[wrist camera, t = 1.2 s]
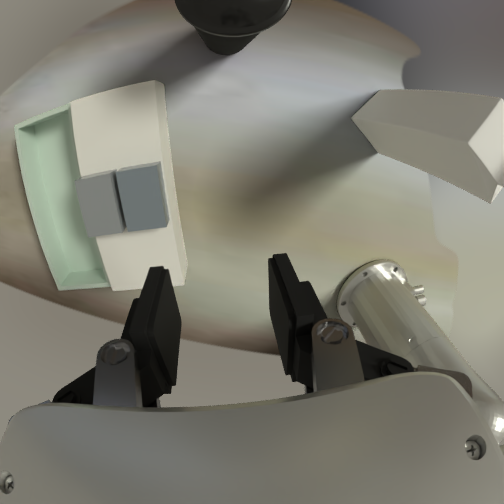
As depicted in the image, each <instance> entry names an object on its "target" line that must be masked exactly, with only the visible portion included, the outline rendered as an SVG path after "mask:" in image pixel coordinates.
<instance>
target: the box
mask: <svg viewBox="0 0 504 504" xmlns="http://www.w3.org/2000/svg"><path fill="white" fill-rule="evenodd" d="M14 129H15V137H16V144H17V151H18V157H19V163H20V168H21V173H22V178H23V182H24V187H25V191H26V195H27V199H28V203H29V207H30V211H31V214H32V218H33V221H34V224H35V228H36V231H37V234H38V237H39V240H40V243H41V246H42V249H43V252H44V255H45V257H46V260H47V263H48V265H49V268H50V270H51V273H52V275H53V278H54V280H55V283H56V285H57V287H58V290H73V289H87V288H100V287H111V284H110V281H109V278H108V276H107V273H106V270H105V267H104V263H103V260H102V257H101V254H100V251H99V247H98V244H97V240H96V237H89V238H88V235H87V231H86V228H85V224H84V220H83V216H82V213H81V209H80V205H79V200H78V196H77V192H76V187H75V182H74V181H75V180H77V179H79V178H80V177H81V174H80V169H79V163H78V158H77V151H76V145H75V138H74V131H73V123H72V114H71V103H69V104H66V105H63V106H61V107H58V108H55V109H52V110H50V111H47V112H45V113H42V114H40V115H37V116H35V117H32V118H30V119H28V120H25V121H23V122H21V123H19V124H16V125H14Z"/></svg>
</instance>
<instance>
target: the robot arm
mask: <svg viewBox="0 0 504 504" xmlns="http://www.w3.org/2000/svg"><path fill="white" fill-rule="evenodd" d="M268 271H269V309H270V316H271V320H272V324H273V328H274V332H275V336H276V340H277V344H278V348H279V352H280V355H281V359H282V363H283V367H284V371H285V374H286V375H291V378H292V382H296V381H298V382H300V383H302V384H304V385H305V394H303V395H297V396H292V397H286V398H279V399H272V400H265V401H257V402H248V403H239V404H228V405H217V406H200V407H171V408H170V407H169V408H161V406H160V400H159V397H160V396H162V395H163V394H171V388H172V386H175V385H176V378H177V366H178V355H179V344H180V334H181V317H180V313H179V309H178V305H177V301H176V297H175V293H174V289H173V285H172V281H171V277H170V272H169V269H164V266H156V267H150V268H149V271H148V274H147V277H146V280H145V283H144V285H143V288H142V291H141V294H140V297H139V298H135V299H134V300H133V302H132V305H131V308H130V311H129V314H128V317H127V320H126V323H125V327H124V330H123V333H122V336H121V339H114V340H111V341H109V342H107V343H105V344H104V345H103V346H102V347H101V348H100V349H99V351H98V354H97V360H96V366H95V367H94V368H92V369H91V370H89V371H88V372H86V373H85V374H83V375H82V376H80V377H79V378H77V379H76V380H74V381H73V382H71V383H69V384H68V385H66V386H65V387H63V388H62V389H61V390H59V391H58V392H57V393H56V395H55V396H54V398H53V401H52V402H50V400H47V401H45V402H43V403H40V404H38V405H34V406H30V407H27V408H24V409H22V410H20V411H19V412H17V413H16V414H15V415H13V416H12V417H11V419H10V420H9V423H8V426H7V428H6V431H5V433H4V435H3V438H2V441H1V443H0V504H504V445H500V446H499V444H500V442H501V441H502V440H503V438H504V402H503V401H502V399H501V398H500V397H499V396H498V395H497V393H496V392H495V391H494V390H493V389H491V387H490V386H489V385H488V384H487V383H486V382H485V381H484V380H483V379H482V378H481V377H480V376H479V375H478V374H477V373H476V372H475V371H474V370H473V368H472V367H471V366H470V365H469V364H468V363H467V361H466V360H465V359H464V357H463V356H462V355H461V354H460V352H459V351H458V350H457V349H456V347H455V346H454V345H453V343H452V342H451V341H450V340H449V338H448V337H447V336H446V335H445V333H444V332H443V331H442V330H441V328H440V327H439V326H438V325H437V323H436V322H435V321H434V320H433V318H432V317H431V316H430V315H429V313H428V312H427V311H426V310H425V309H424V307H423V306H424V305H425V304H426V297H425V296H424V295H419V296H415V297H414V295H415V294H416V295H417V294H421V293H423V292H424V287H423V286H422V285H419V286H415V287H412V286H410V285H409V284H408V281H407V275H406V273H405V271H404V270H403V268H402V267H401V266H400V265H399V264H397V263H396V262H394V261H391V260H376V261H373V262H370V263H368V264H366V265H364V266H362V267H361V268H359V269H358V270H356V271H355V272H354V273H353V274H352V275H351V276H350V277H349V278H348V279H347V280H346V282H345V283H344V285H343V286H342V288H341V290H340V292H339V295H338V299H337V310H338V313H339V315H340V317H341V319H342V320H343V321H342V320H339V319H333V318H329V319H328V318H327V316H326V314H325V312H324V310H323V308H322V306H321V304H320V302H319V300H318V298H317V296H316V293H315V291H314V289H313V287H312V285H311V283H310V282H309V281H304V282H299V280H298V277H297V275H296V273H295V271H294V269H293V266H292V264H291V262H290V260H289V258H288V255H287V254H286V253H283V254H273V258H269V259H268ZM351 326H352V327H358V329H359V330H360V332H361V334H362V336H363V337H364V339H365V341H366V343H367V344H365V343H362V342H360V341H357V340H355V337H354V333H353V330H352V328H351Z"/></svg>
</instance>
